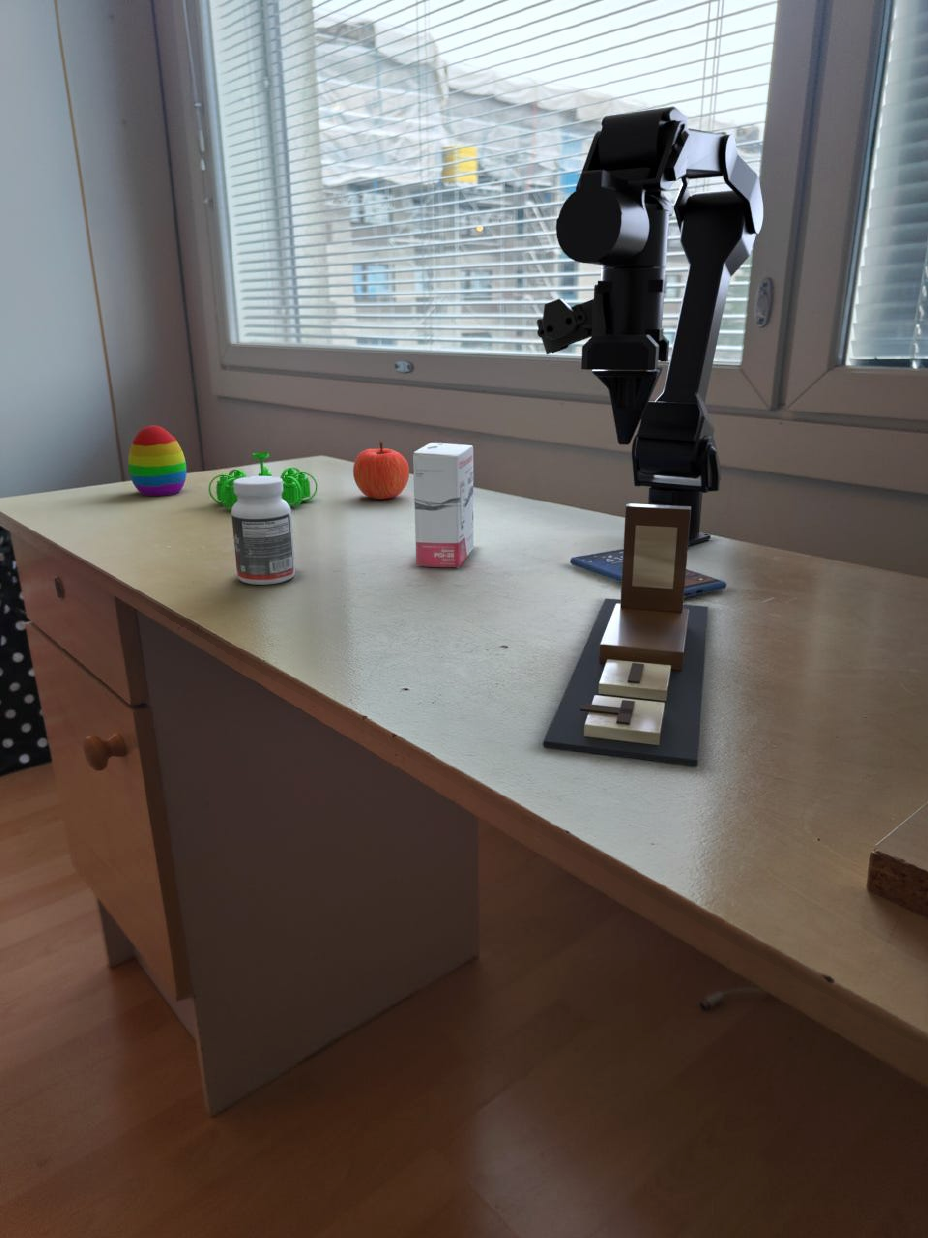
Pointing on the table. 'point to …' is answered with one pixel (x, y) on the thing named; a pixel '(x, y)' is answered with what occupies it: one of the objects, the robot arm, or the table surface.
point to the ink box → (443, 504)
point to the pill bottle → (262, 531)
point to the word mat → (634, 701)
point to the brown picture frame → (651, 588)
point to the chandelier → (293, 484)
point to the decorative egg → (156, 462)
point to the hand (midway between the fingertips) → (624, 443)
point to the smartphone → (612, 568)
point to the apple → (380, 473)
